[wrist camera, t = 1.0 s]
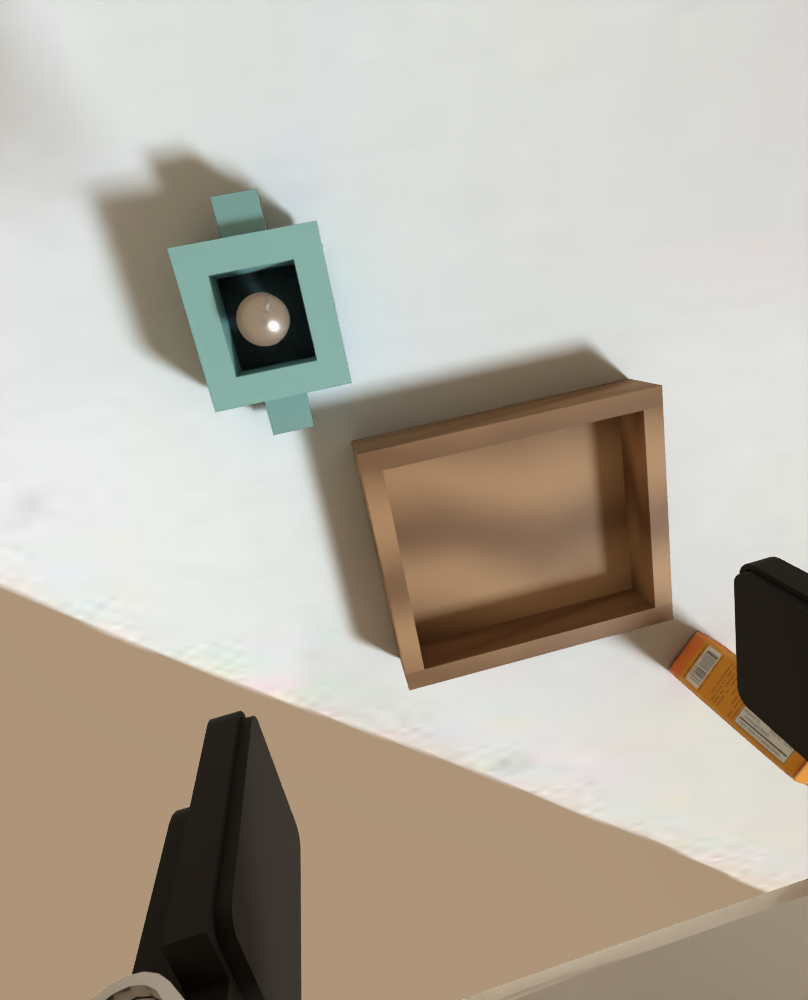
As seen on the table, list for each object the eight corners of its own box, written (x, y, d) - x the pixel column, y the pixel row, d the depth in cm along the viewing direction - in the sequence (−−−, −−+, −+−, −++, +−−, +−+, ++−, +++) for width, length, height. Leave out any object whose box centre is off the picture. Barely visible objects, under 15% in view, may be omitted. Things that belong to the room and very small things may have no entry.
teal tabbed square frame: (168, 214, 25) (153, 202, 22) (305, 189, 26) (306, 175, 23) (232, 436, 28) (226, 449, 25) (353, 409, 29) (359, 419, 26)
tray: (351, 441, 30) (356, 454, 27) (629, 378, 32) (662, 385, 29) (400, 659, 34) (409, 690, 31) (643, 594, 36) (672, 619, 33)
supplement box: (733, 646, 38) (877, 755, 29) (700, 688, 39) (830, 809, 29) (697, 624, 37) (834, 730, 28) (664, 668, 38) (786, 786, 28)
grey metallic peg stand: (195, 270, 27) (174, 261, 22) (310, 248, 27) (313, 235, 23) (228, 385, 28) (215, 400, 24) (336, 363, 29) (343, 372, 24)
